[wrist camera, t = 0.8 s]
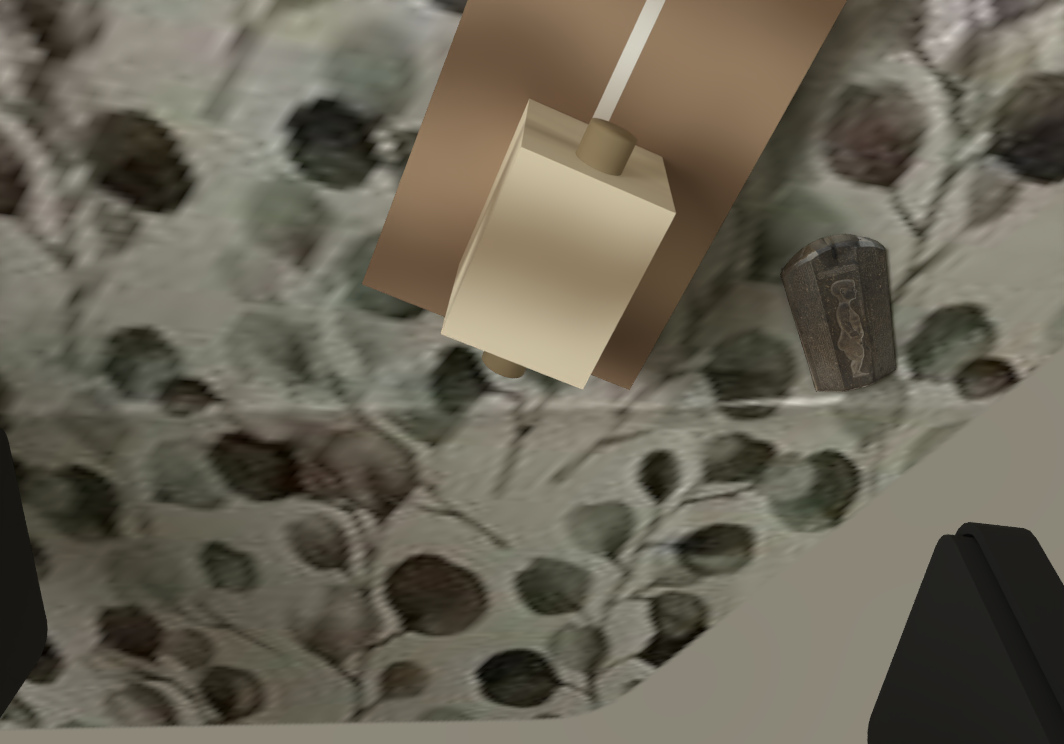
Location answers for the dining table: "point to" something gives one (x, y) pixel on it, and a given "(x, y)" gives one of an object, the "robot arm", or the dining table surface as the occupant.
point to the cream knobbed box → (559, 246)
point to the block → (842, 311)
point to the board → (610, 94)
